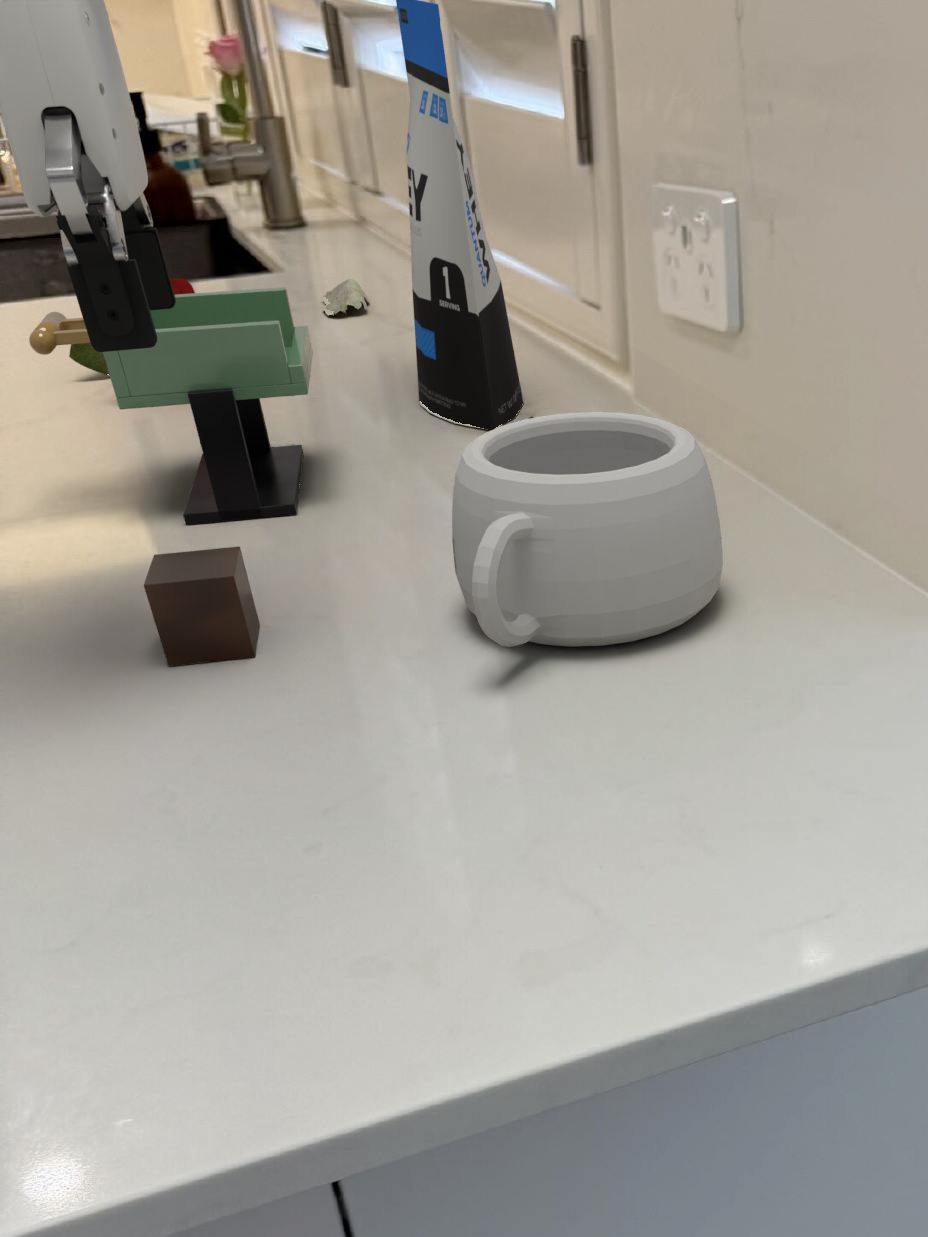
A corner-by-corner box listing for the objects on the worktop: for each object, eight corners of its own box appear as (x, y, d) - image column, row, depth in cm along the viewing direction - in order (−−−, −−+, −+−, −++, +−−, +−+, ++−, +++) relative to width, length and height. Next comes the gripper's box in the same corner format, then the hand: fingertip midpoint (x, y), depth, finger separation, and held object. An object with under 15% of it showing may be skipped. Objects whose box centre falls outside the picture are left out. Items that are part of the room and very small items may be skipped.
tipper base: (185, 525, 99) (150, 396, 94) (204, 462, 111) (174, 345, 106) (296, 515, 101) (268, 387, 95) (303, 454, 113) (278, 337, 107)
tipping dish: (40, 416, 94) (16, 342, 91) (71, 371, 104) (50, 303, 101) (308, 394, 97) (292, 322, 94) (313, 352, 107) (299, 286, 104)
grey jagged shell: (320, 296, 162) (333, 262, 160) (358, 316, 164) (371, 283, 162) (322, 322, 153) (336, 287, 151) (363, 343, 155) (377, 308, 154)
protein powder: (497, 363, 135) (450, -7, 117) (547, 427, 117) (502, 1, 98) (402, 373, 133) (339, -2, 115) (439, 440, 115) (371, 7, 96)
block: (168, 666, 80) (143, 585, 77) (177, 633, 84) (153, 554, 80) (255, 657, 80) (233, 575, 77) (259, 624, 84) (240, 546, 81)
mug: (540, 545, 94) (522, 394, 88) (763, 572, 89) (760, 414, 83) (367, 670, 79) (331, 498, 72) (625, 712, 74) (610, 530, 67)
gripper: (-23, -66, 69) (89, 302, 79) (-111, -69, 55) (37, 373, 66) (130, -72, 70) (220, 291, 80) (80, -77, 57) (195, 359, 67)
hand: (137, 328), depth 73 cm, fingers open, 9 cm apart
